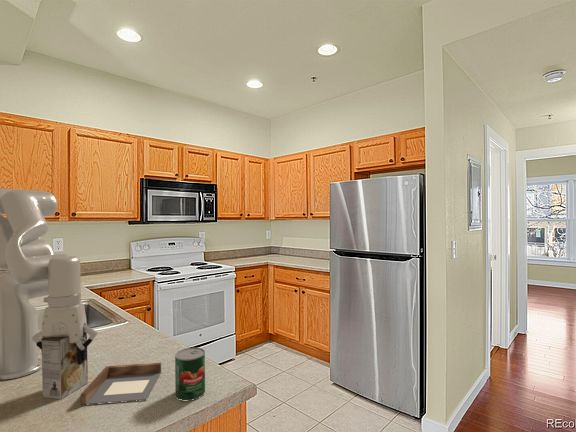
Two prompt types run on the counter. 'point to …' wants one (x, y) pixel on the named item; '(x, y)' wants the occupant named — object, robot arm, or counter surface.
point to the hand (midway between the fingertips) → (65, 363)
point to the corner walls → (117, 371)
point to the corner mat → (125, 388)
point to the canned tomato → (190, 373)
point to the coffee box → (61, 367)
